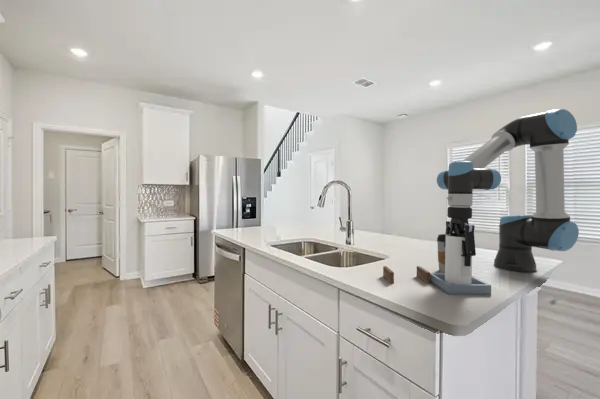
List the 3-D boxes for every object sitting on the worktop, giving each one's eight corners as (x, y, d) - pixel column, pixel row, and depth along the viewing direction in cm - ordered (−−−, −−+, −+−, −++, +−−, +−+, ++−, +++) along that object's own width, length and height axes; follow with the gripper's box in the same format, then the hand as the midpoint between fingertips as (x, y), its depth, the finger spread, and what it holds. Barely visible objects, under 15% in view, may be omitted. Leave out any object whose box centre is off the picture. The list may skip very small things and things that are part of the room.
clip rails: (419, 276, 117) (419, 266, 117) (429, 283, 108) (430, 272, 108) (383, 276, 117) (383, 266, 117) (390, 283, 108) (390, 272, 108)
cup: (471, 286, 98) (472, 238, 97) (443, 282, 102) (444, 235, 102) (472, 280, 105) (473, 234, 104) (446, 276, 109) (447, 233, 109)
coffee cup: (436, 272, 122) (437, 236, 122) (435, 267, 130) (436, 233, 130) (459, 274, 119) (460, 237, 119) (457, 269, 127) (457, 234, 126)
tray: (466, 281, 111) (466, 273, 111) (491, 294, 97) (491, 285, 97) (429, 281, 110) (429, 273, 110) (448, 294, 96) (448, 285, 96)
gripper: (434, 205, 113) (433, 264, 114) (466, 208, 92) (464, 280, 93) (454, 205, 113) (452, 264, 114) (490, 208, 92) (488, 281, 93)
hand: (458, 271), depth 103 cm, fingers closed on cup, 8 cm apart
